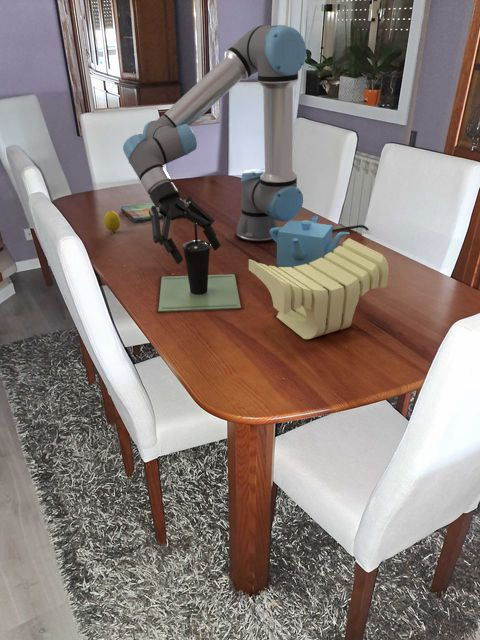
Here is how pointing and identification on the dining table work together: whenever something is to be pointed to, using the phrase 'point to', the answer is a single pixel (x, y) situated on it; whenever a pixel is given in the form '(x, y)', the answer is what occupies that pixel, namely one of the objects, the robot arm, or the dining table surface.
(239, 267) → the dining table surface
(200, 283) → the drinking cup
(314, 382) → the dining table surface
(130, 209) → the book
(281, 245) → the teakettle
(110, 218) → the lemon
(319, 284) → the slatted curved stool
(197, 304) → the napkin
